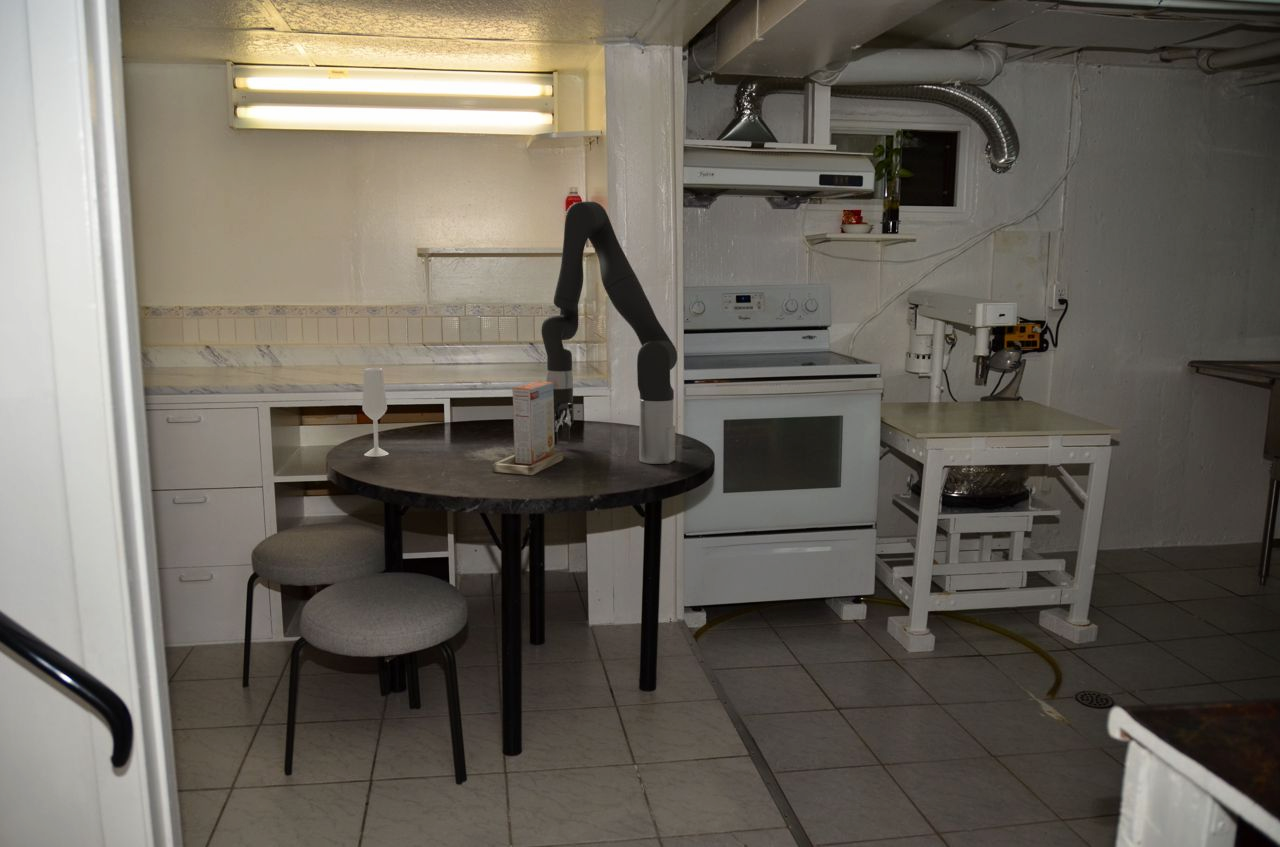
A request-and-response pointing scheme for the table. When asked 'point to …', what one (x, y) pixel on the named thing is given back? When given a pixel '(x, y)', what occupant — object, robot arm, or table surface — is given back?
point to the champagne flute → (374, 404)
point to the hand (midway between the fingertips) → (559, 441)
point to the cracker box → (533, 422)
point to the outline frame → (508, 466)
